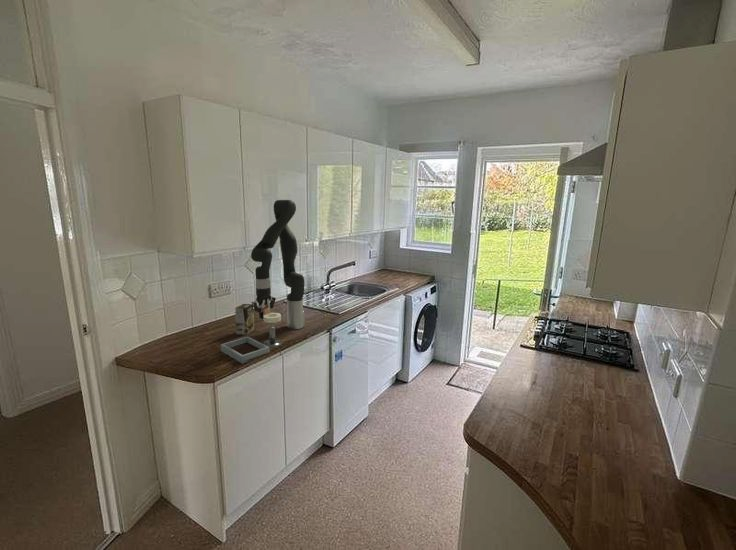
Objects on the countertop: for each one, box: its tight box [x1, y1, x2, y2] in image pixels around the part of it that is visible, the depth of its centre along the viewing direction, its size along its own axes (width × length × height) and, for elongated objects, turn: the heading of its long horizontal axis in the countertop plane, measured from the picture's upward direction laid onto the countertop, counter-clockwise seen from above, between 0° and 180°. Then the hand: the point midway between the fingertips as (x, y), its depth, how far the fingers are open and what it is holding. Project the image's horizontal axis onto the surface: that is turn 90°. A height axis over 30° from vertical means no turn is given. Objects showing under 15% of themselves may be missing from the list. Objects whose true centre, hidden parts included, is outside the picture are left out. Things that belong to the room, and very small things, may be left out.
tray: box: [220, 336, 271, 365], centre depth 179 cm, size 15×20×4 cm
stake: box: [262, 325, 283, 348], centre depth 189 cm, size 10×10×10 cm
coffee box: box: [234, 303, 255, 336], centre depth 203 cm, size 9×6×16 cm
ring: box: [263, 306, 282, 324], centre depth 188 cm, size 9×13×5 cm, turn 49°
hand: (264, 317), depth 192 cm, fingers closed on ring, 3 cm apart
